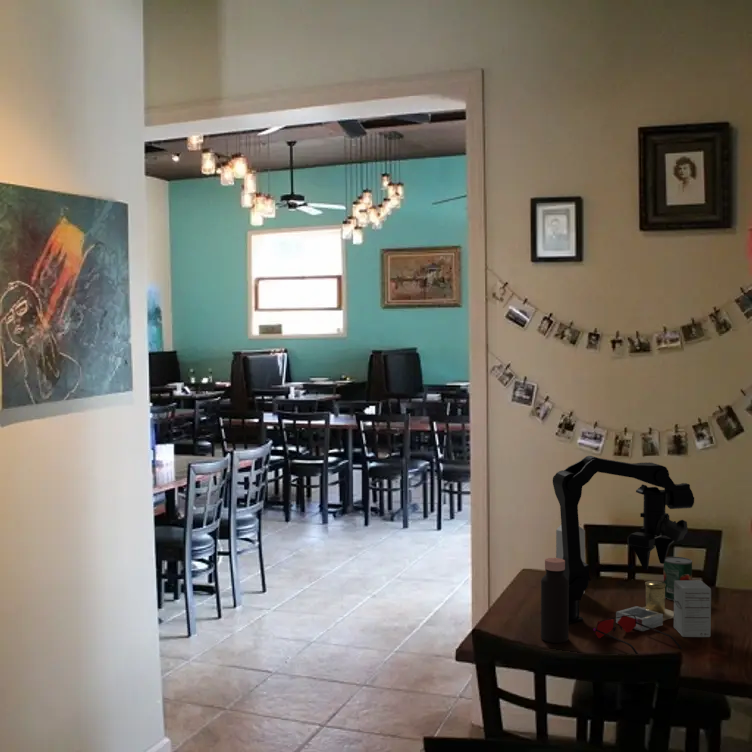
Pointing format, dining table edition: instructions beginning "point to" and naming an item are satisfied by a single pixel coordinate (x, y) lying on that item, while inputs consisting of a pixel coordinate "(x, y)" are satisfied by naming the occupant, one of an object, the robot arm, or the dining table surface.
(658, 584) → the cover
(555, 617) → the bottle
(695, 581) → the supplement box
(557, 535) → the milk
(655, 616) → the housing
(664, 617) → the coaster
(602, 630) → the glasses
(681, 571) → the canned tomato
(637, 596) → the dining table surface
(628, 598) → the dining table surface
